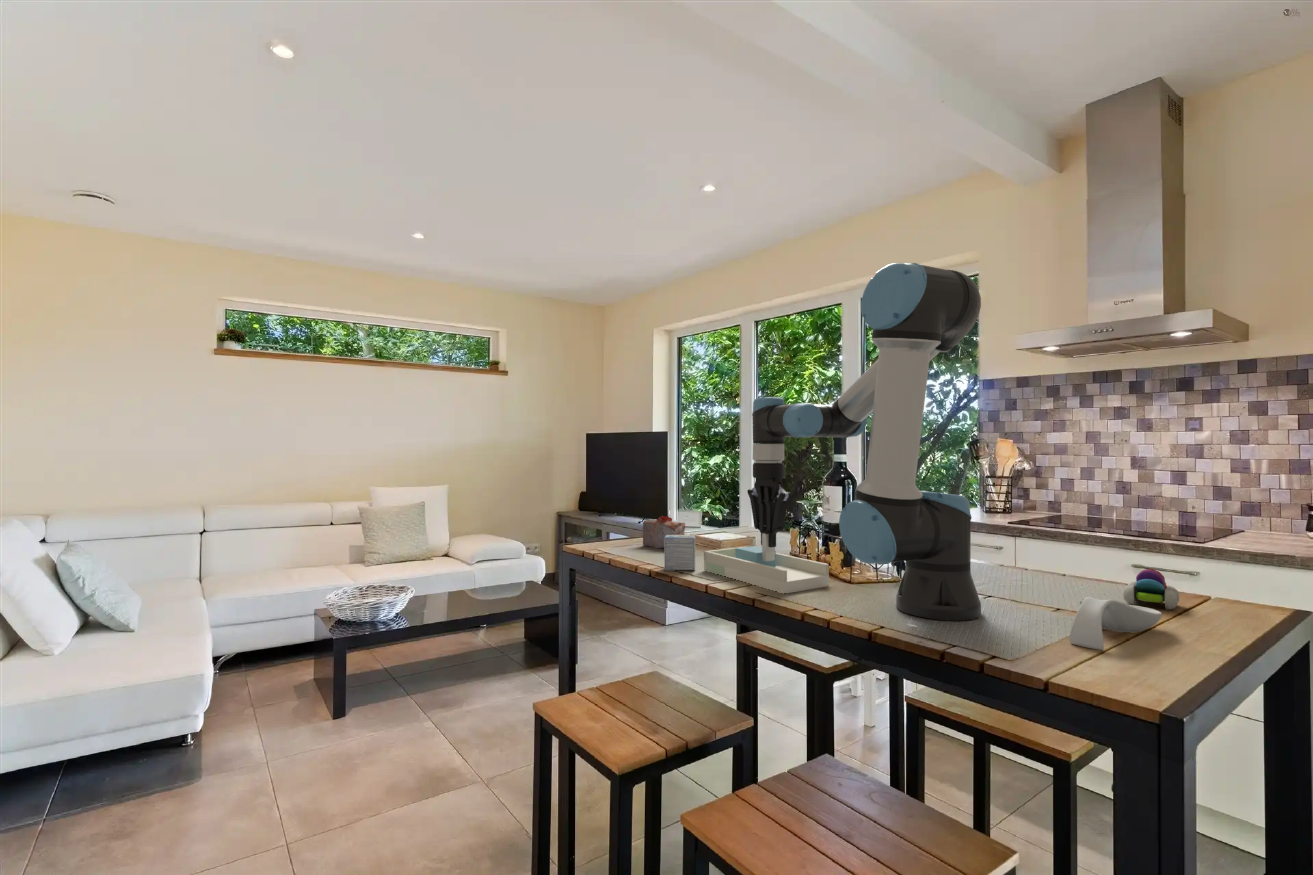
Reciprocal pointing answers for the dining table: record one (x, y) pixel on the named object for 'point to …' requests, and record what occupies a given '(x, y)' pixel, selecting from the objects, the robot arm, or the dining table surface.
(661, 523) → the gift box with bow
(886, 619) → the dining table surface
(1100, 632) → the spoon rest
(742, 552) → the block
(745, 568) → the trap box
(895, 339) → the robot arm
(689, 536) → the grey upright rectangular block
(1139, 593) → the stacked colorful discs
